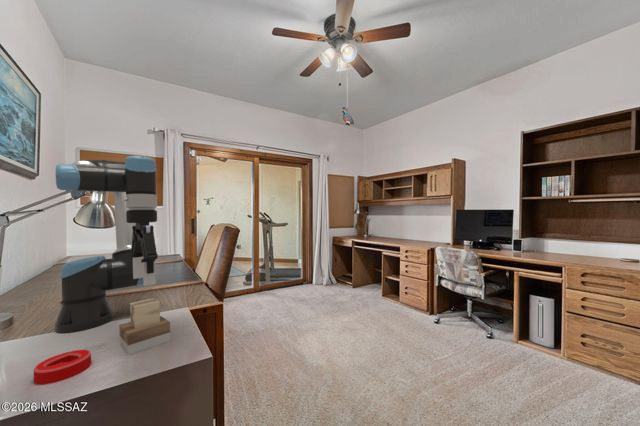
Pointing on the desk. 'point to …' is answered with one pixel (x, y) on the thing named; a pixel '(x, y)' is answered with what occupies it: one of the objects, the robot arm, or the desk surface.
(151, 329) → the slab top
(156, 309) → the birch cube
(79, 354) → the decorative ornament
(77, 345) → the desk surface
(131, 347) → the slab bottom
